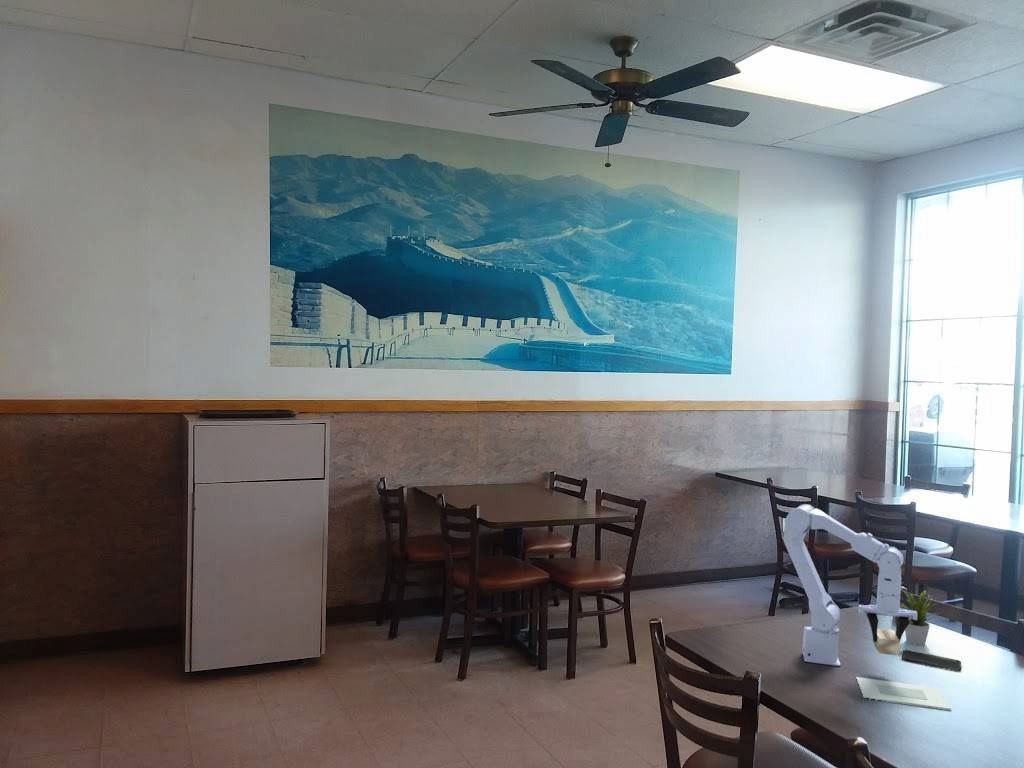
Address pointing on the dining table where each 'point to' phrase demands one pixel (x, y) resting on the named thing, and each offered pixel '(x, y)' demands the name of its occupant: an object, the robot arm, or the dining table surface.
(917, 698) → the mat
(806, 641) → the robot arm
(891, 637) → the card box
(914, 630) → the house plant
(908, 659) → the phone
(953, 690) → the dining table surface
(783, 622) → the dining table surface
